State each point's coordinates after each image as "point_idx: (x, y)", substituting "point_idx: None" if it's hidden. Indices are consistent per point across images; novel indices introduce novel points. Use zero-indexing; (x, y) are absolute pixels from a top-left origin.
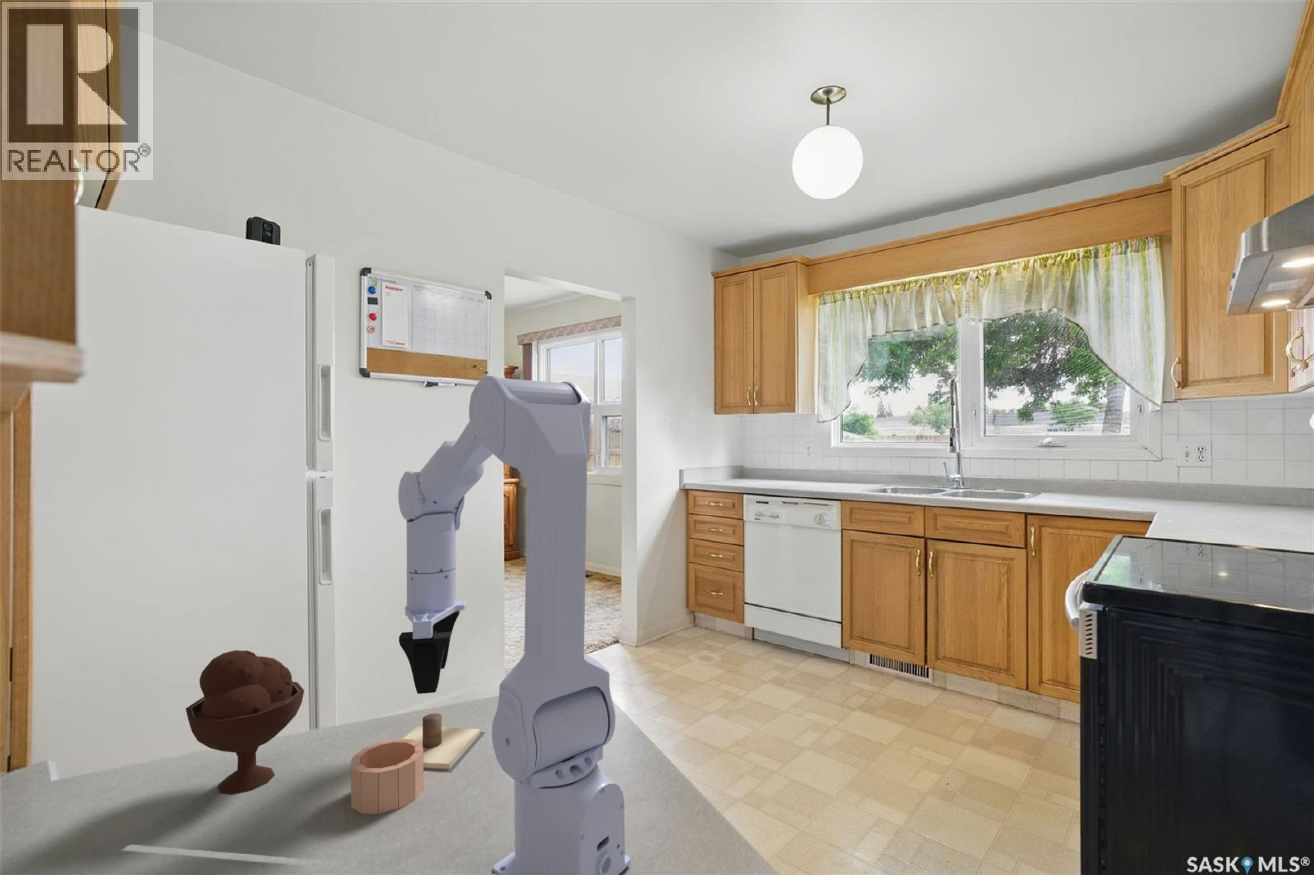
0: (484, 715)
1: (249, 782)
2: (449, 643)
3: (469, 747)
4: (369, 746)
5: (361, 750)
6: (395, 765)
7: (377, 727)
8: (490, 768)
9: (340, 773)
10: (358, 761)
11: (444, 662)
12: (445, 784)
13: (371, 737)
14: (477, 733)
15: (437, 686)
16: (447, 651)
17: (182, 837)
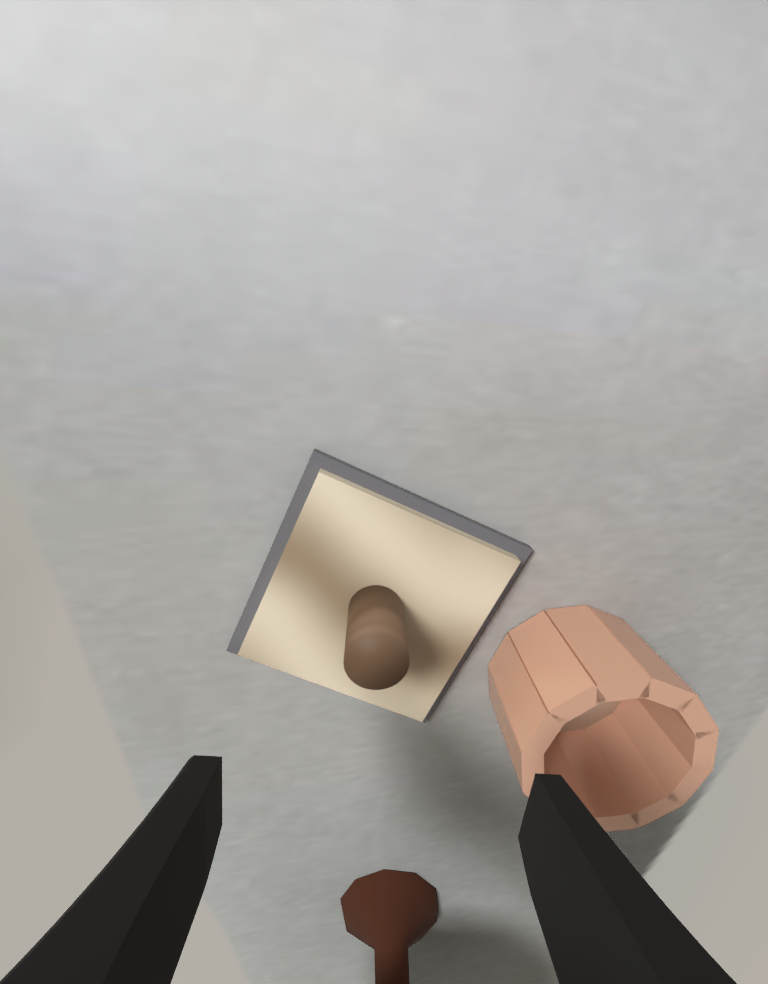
0: (149, 445)
1: (424, 916)
2: (92, 898)
3: (408, 502)
4: None
5: None
6: (695, 737)
7: (173, 735)
8: (536, 442)
9: (409, 772)
10: (621, 817)
11: (206, 790)
12: (566, 557)
13: (234, 740)
14: (339, 479)
15: (557, 790)
16: (170, 851)
17: (537, 931)
